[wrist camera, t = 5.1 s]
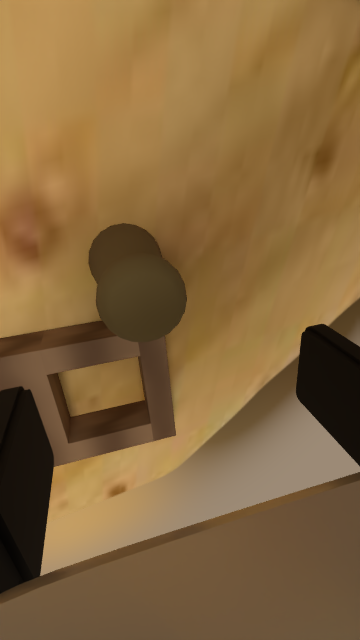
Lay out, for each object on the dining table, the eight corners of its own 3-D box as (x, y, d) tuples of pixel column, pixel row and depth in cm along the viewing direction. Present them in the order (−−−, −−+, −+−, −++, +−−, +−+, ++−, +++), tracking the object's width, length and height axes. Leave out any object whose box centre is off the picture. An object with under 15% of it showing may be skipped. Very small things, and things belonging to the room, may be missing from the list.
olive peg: (161, 291, 28) (199, 351, 19) (92, 297, 27) (94, 365, 17) (160, 222, 26) (202, 249, 16) (83, 224, 25) (80, 256, 15)
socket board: (155, 310, 29) (163, 327, 26) (168, 411, 34) (175, 435, 31) (-120, 359, 25) (-150, 385, 22) (-58, 466, 30) (-75, 500, 27)
